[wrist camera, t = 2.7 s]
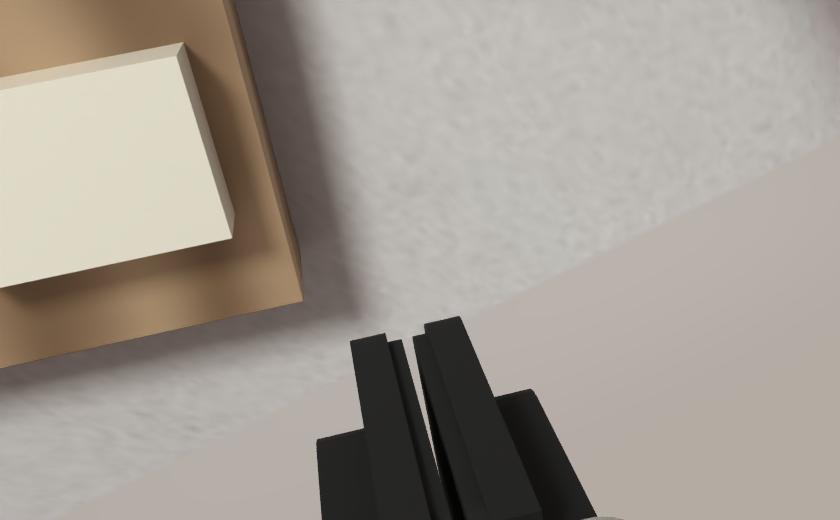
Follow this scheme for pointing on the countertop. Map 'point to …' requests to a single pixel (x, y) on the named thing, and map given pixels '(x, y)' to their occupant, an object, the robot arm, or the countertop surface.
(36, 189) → the tile
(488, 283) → the countertop surface
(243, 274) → the wooden block
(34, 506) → the countertop surface
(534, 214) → the countertop surface
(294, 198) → the countertop surface
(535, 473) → the robot arm
